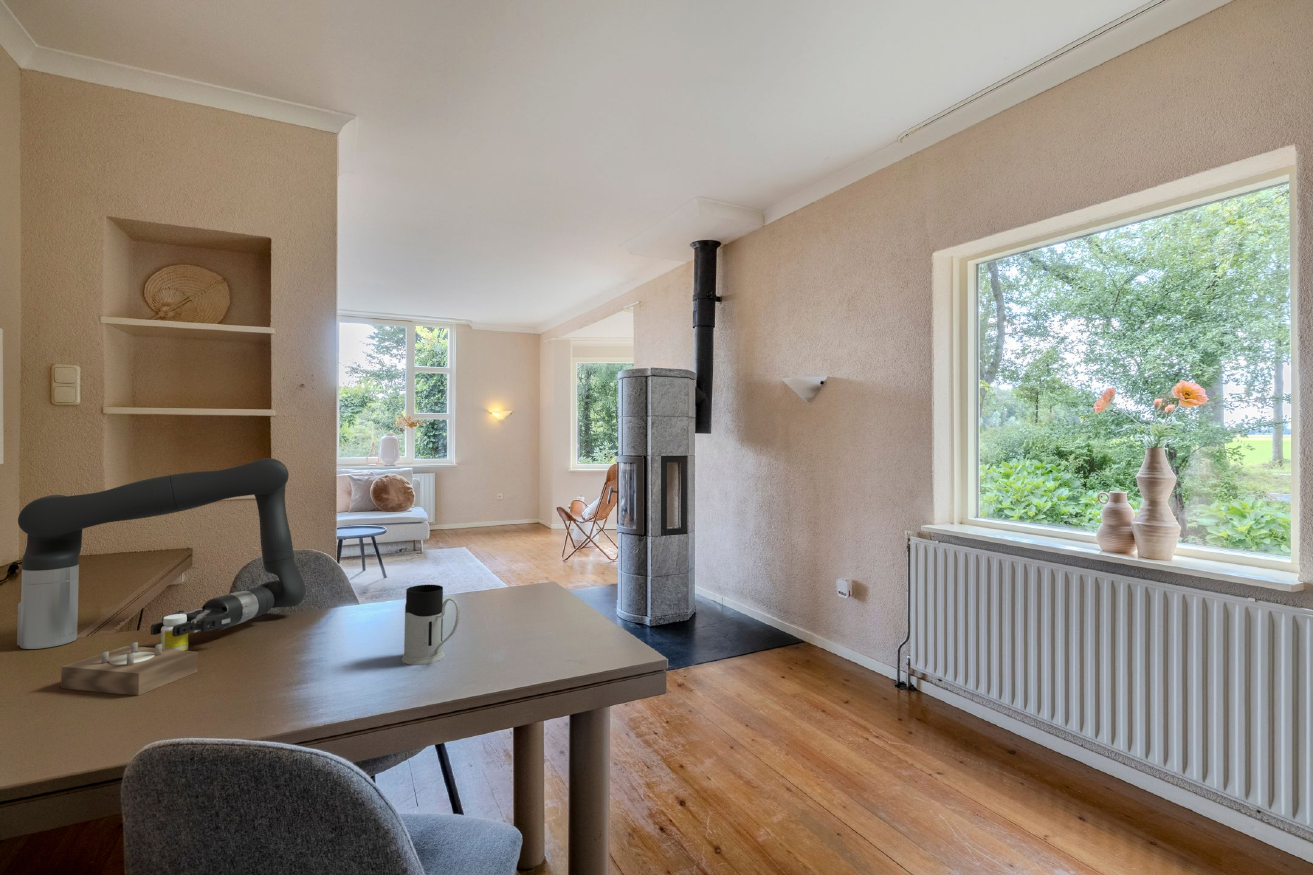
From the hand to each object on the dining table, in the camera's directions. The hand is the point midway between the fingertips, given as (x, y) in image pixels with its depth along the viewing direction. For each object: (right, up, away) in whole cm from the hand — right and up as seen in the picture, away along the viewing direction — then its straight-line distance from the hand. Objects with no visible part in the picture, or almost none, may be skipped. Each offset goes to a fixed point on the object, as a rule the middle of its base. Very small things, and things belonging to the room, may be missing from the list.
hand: (163, 630), depth 131 cm
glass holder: (+56, -7, +2) cm, 57 cm away
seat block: (+3, -6, -11) cm, 13 cm away
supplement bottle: (0, -6, +3) cm, 7 cm away
